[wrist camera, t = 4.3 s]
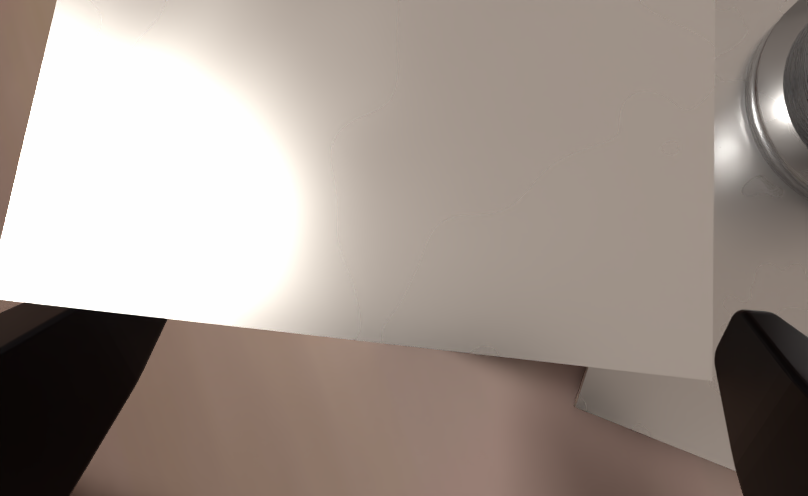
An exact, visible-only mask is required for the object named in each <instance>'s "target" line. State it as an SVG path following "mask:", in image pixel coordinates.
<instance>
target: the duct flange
mask: <svg viewBox="0 0 808 496" xmlns="http://www.w3.org/2000/svg"><path fill="white" fill-rule="evenodd" d="M742 309H746V310H757V311H767V312H772V313H774V314H776V315H777V316H779V317H780V318H782V319H783V320H785V321H786V322H787V323H789V324H790V325H792V326H793V327H794V328H796V329H797V330H799V331H800V332H801V333H803V334H804V335H806V336H807V337H808V0H715V98H714V229H713V359H712V381H708V380H699V379H690V378H682V377H673V376H664V375H656V374H647V373H638V372H629V371H621V370H612V369H603V368H594V367H586V370H585V373H584V376H583V379H582V382H581V385H580V388H579V391H578V394H577V397H576V400H575V403H574V407H576V408H579V409H581V410H584V411H586V412H589V413H591V414H594V415H596V416H599V417H601V418H604V419H606V420H609V421H611V422H614V423H616V424H619V425H621V426H624V427H626V428H629V429H631V430H634V431H636V432H639V433H641V434H644V435H646V436H649V437H651V438H654V439H656V440H659V441H661V442H664V443H666V444H669V445H671V446H674V447H676V448H679V449H681V450H684V451H686V452H689V453H691V454H694V455H696V456H699V457H701V458H704V459H706V460H709V461H711V462H714V463H716V464H719V465H721V466H724V467H726V468H729V469H731V470H734V471H736V469H735V466H734V461H733V457H732V452H731V448H730V442H729V437H728V432H727V427H726V422H725V416H724V411H723V406H722V401H721V396H720V390H719V385H718V380H717V375H716V370H715V364H714V357H715V351H716V348H717V346H718V344H719V342H720V340H721V338H722V336H723V334H724V332H725V330H726V327H727V325H728V323H729V321H730V319H731V317H732V316H733V314H734V313H735V312H737V311H738V310H742Z"/></svg>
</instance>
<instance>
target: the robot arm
mask: <svg viewBox="0 0 808 496" xmlns="http://www.w3.org/2000/svg"><path fill="white" fill-rule="evenodd" d="M166 321H167V319H166V318H157V317H149V316H140V315H131V314H122V313H114V312H105V311H96V310H88V309H79V308H70V307H61V306H53V305H44V304H35V303H26V302H24V303H22V304H20V305H17V306H15V307H13V308H11V309H8V310H6V311H4V312H2V313H0V496H70V495H71V493H72V491H73V489H74V488H75V486H76V484H77V483H78V481H79V479H80V478H81V476H82V474H83V473H84V471H85V469H86V468H87V466H88V464H89V463H90V461H91V459H92V458H93V456H94V454H95V453H96V451H97V449H98V448H99V446H100V444H101V443H102V441H103V439H104V438H105V436H106V434H107V433H108V431H109V429H110V428H111V426H112V424H113V423H114V421H115V419H116V418H117V416H118V414H119V413H120V411H121V409H122V408H123V406H124V404H125V403H126V401H127V399H128V398H129V396H130V394H131V392H132V391H133V389H134V387H135V385H136V384H137V382H138V380H139V378H140V376H141V374H142V372H143V370H144V368H145V366H146V364H147V361H148V359H149V357H150V355H151V353H152V351H153V349H154V347H155V345H156V342H157V340H158V338H159V336H160V334H161V332H162V330H163V328H164V325H165V323H166ZM714 364H715V370H716V375H717V380H718V385H719V390H720V396H721V401H722V406H723V411H724V416H725V422H726V427H727V432H728V437H729V442H730V448H731V452H732V457H733V461H734V466H735V469H736V473H737V476H738V480H739V483H740V486H741V489H742V493H743V496H808V337H807V336H806V335H804V334H803V333H801V332H800V331H799V330H797V329H796V328H794V327H793V326H792V325H790V324H789V323H787V322H786V321H785V320H783V319H782V318H780V317H779V316H777V315H776V314H774V313H772V312H767V311H757V310H746V309H742V310H738V311H737V312H735V313H734V314H733V316H732V317H731V319H730V321H729V323H728V325H727V327H726V330H725V332H724V334H723V336H722V338H721V340H720V342H719V344H718V346H717V348H716V351H715V357H714Z"/></svg>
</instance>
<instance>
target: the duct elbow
mask: <svg viewBox="0 0 808 496" xmlns="http://www.w3.org/2000/svg"><path fill="white" fill-rule="evenodd" d="M714 98H715V0H57V3H56V7H55V11H54V16H53V20H52V24H51V28H50V33H49V37H48V41H47V46H46V50H45V54H44V58H43V63H42V67H41V71H40V76H39V80H38V84H37V88H36V93H35V97H34V101H33V105H32V110H31V114H30V118H29V123H28V127H27V131H26V135H25V140H24V144H23V148H22V153H21V157H20V161H19V165H18V170H17V174H16V178H15V183H14V187H13V191H12V195H11V200H10V204H9V208H8V212H7V217H6V221H5V225H4V230H3V234H2V238H1V242H0V300H9V301H18V302H26V303H35V304H44V305H53V306H61V307H70V308H79V309H88V310H96V311H105V312H114V313H122V314H131V315H140V316H149V317H157V318H166V319H175V320H184V321H192V322H201V323H210V324H219V325H227V326H236V327H245V328H254V329H262V330H271V331H280V332H289V333H297V334H306V335H315V336H323V337H332V338H341V339H350V340H358V341H367V342H376V343H385V344H393V345H402V346H411V347H420V348H428V349H437V350H446V351H455V352H463V353H472V354H481V355H489V356H498V357H507V358H516V359H524V360H533V361H542V362H551V363H559V364H568V365H577V366H586V367H594V368H603V369H612V370H621V371H629V372H638V373H647V374H656V375H664V376H673V377H682V378H690V379H699V380H708V381H712V359H713V229H714Z"/></svg>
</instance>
